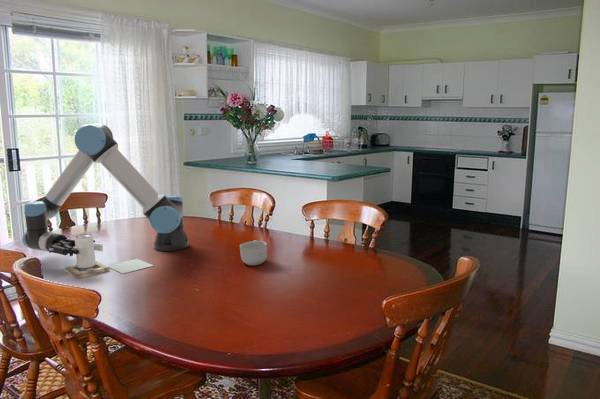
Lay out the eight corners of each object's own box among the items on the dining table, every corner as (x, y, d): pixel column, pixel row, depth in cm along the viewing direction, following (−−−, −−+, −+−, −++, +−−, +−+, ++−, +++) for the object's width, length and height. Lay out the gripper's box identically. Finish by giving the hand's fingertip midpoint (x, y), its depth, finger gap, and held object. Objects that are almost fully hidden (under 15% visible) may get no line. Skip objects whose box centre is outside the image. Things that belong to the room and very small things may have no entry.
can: (99, 264, 192) (96, 234, 190) (85, 269, 186) (82, 238, 184) (87, 262, 195) (84, 233, 192) (73, 267, 189) (70, 236, 187)
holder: (95, 264, 199) (95, 260, 199) (109, 270, 191) (109, 267, 191) (64, 271, 190) (64, 267, 190) (78, 278, 182) (77, 274, 182)
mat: (137, 259, 205) (136, 258, 205) (153, 266, 196) (153, 265, 196) (106, 266, 196) (106, 266, 196) (122, 274, 187) (122, 273, 187)
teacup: (263, 268, 193) (262, 248, 192) (236, 266, 195) (235, 246, 194) (272, 257, 207) (271, 239, 205) (247, 256, 209) (246, 237, 207)
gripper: (76, 246, 207) (115, 253, 196) (32, 258, 190) (72, 266, 179) (74, 228, 205) (113, 234, 194) (29, 239, 188) (70, 246, 178)
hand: (93, 250), depth 187 cm, fingers closed on can, 6 cm apart
